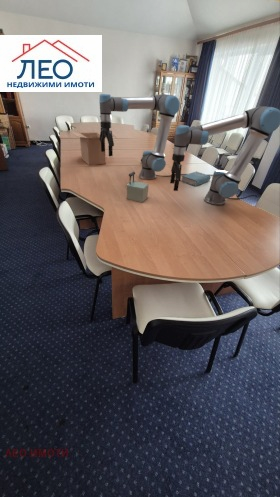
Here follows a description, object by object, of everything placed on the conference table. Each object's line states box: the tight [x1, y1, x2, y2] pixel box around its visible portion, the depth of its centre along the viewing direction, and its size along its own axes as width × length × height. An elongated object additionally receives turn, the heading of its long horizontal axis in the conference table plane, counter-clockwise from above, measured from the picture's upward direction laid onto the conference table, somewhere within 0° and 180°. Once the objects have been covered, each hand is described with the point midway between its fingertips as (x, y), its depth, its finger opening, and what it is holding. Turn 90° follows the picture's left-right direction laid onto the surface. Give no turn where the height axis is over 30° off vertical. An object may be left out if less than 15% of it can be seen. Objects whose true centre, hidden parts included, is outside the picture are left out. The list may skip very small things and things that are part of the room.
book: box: [180, 171, 211, 187], centre depth 203 cm, size 23×16×5 cm
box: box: [70, 129, 114, 166], centre depth 229 cm, size 44×36×27 cm
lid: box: [125, 171, 149, 190], centre depth 158 cm, size 14×10×9 cm
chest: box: [126, 185, 149, 203], centre depth 163 cm, size 13×10×10 cm
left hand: (106, 153), depth 165 cm, fingers open, 13 cm apart
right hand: (173, 186), depth 150 cm, fingers open, 13 cm apart
